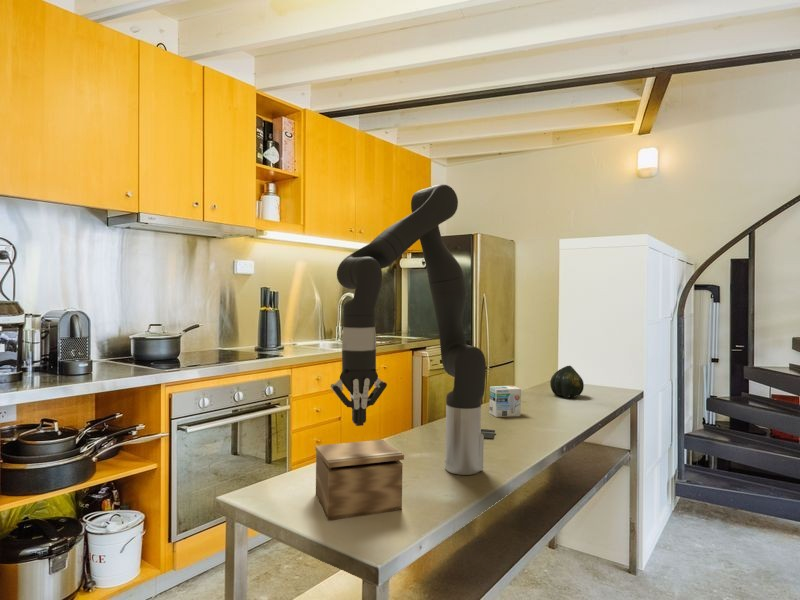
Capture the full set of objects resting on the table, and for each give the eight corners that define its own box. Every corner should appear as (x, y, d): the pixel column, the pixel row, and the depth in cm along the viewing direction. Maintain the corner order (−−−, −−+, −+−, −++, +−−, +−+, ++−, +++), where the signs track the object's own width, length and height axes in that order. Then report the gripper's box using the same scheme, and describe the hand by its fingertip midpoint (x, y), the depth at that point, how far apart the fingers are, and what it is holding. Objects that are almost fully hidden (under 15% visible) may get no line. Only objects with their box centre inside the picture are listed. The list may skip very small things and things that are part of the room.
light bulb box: (495, 417, 188) (496, 389, 188) (488, 413, 195) (489, 386, 194) (521, 416, 191) (521, 388, 190) (513, 412, 197) (513, 385, 197)
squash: (552, 387, 221) (573, 362, 222) (539, 383, 236) (560, 359, 237) (574, 408, 222) (596, 383, 223) (561, 402, 237) (581, 379, 238)
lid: (383, 443, 119) (383, 438, 119) (404, 459, 106) (404, 454, 106) (315, 450, 114) (315, 445, 114) (328, 467, 100) (328, 462, 100)
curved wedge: (455, 431, 170) (455, 426, 170) (495, 434, 167) (495, 429, 167) (451, 438, 162) (451, 433, 162) (493, 441, 159) (493, 436, 159)
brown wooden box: (381, 485, 119) (382, 444, 119) (401, 509, 106) (402, 463, 106) (315, 494, 114) (316, 450, 114) (328, 520, 101) (329, 471, 100)
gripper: (382, 344, 115) (381, 418, 115) (326, 346, 111) (326, 423, 111) (392, 348, 108) (392, 426, 108) (333, 350, 103) (333, 432, 104)
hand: (358, 424), depth 110 cm, fingers closed
